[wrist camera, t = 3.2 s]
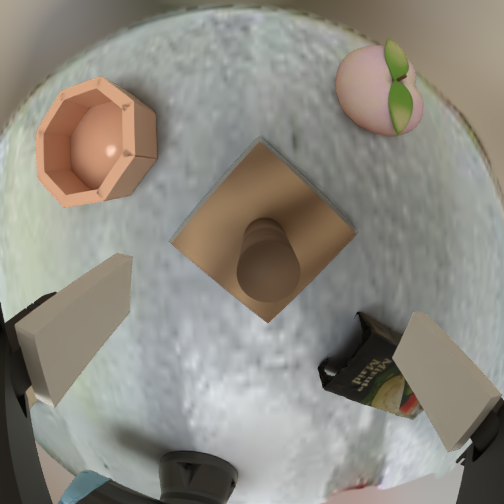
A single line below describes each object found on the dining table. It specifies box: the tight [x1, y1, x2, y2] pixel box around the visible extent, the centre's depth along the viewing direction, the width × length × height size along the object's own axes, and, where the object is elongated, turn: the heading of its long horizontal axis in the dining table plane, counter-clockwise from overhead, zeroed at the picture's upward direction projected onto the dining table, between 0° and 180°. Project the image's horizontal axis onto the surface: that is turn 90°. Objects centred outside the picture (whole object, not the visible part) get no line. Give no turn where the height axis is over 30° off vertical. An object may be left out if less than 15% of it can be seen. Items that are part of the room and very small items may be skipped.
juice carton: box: [318, 312, 424, 420], centre depth 32 cm, size 20×10×6 cm, turn 59°
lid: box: [171, 142, 356, 323], centre depth 23 cm, size 13×13×11 cm
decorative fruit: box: [335, 38, 423, 136], centre depth 21 cm, size 9×8×10 cm
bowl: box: [36, 76, 158, 208], centre depth 25 cm, size 12×12×6 cm
